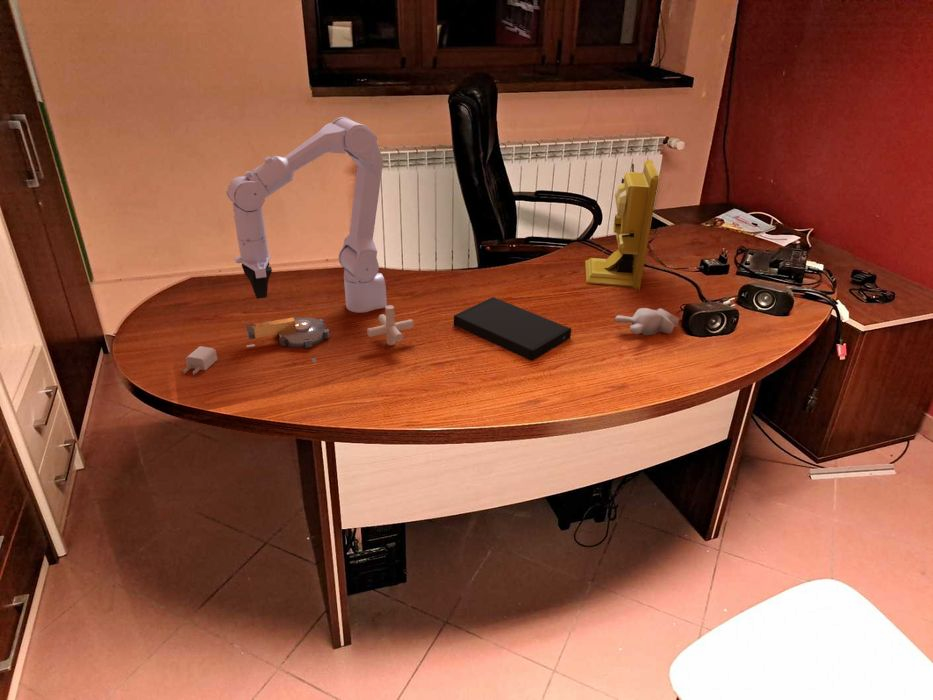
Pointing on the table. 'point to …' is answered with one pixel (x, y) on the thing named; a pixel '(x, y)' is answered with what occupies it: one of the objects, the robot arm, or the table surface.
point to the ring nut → (292, 331)
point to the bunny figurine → (650, 321)
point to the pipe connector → (390, 326)
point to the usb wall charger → (201, 359)
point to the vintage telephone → (628, 231)
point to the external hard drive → (512, 328)
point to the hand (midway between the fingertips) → (260, 295)
